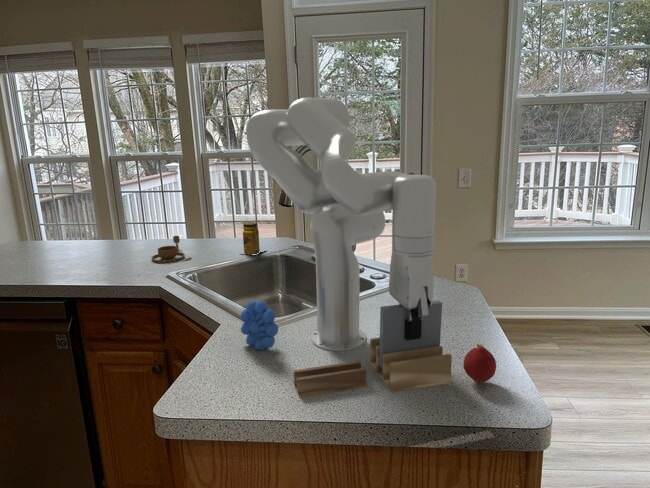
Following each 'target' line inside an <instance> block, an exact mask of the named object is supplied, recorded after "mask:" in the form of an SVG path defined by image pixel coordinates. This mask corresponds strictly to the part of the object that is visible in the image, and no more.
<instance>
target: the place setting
mask: <svg viewBox="0 0 650 488" xmlns="http://www.w3.org/2000/svg"><path fill="white" fill-rule="evenodd" d="M172 241H173V243H174V244H175V245H165V246H160V247H158V248H157V254H154V255H152V256H151V262H153V263H157V264H170V263H176V262H179V261H180V262H179V263H181V264H182V263H183V262H185V261H187V262H188V261H189V260H191V259H192V256H190V257H186V255H185V253H183V252H181V251H178V250H179V243H180V235H173V236H172ZM177 256H178V257H177ZM179 256H180V257H179ZM176 257H177V258H176ZM185 257H186V258H185ZM157 258H160V259H162V260H160V259H157Z"/></svg>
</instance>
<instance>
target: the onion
mask: <svg viewBox="0 0 650 488" xmlns="http://www.w3.org/2000/svg"><path fill="white" fill-rule="evenodd" d="M462 364H463V370H464V372H465V373H466V375H467V376H468V377H469V378H470V379H471V380H473V382H475V383H476V384H482V383H485V382H488V381H489V380H491V379H492V378H493V377H494V376H495V374H496V371H497V362H496V359H495V356H494V355H493V354H492V353H491V351H489V350H488V349H487V348H486V347H484V346H483V344H481V343H477V344H476V347H474V348H472V349H470V350H469V351H468V352H467V353H466V354H465V356H464V359H463V363H462Z"/></svg>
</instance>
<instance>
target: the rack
mask: <svg viewBox="0 0 650 488" xmlns="http://www.w3.org/2000/svg"><path fill="white" fill-rule="evenodd" d="M443 349H444V347H443V346H442V345H440V346H436V347H429V348H422V349H415V350H408V351H401V352H395V353H388V354H383V368H381V367H380V366H379V350H380V336H379V337H372V338H370V341H369V360H368V361H369V363H370V364H371V366H372V367H373V368H374V370H375V371H376V372H377V374H378V375H379V377H380V378H381V379H382V380H383V382H384V383H385V385H386V386H387V388H388V389H389V390H390V392H391V393H398V392H405V391H409V390H415V389H422V388H427V387H433V386H438V385H439V386H440V385H445V384H446V385H448V386H449V387H452V385H453V384H452V382H453V381H452V380H451V379H452V376H451V375H452V360H453V356H452V354H450V353H447V354H443Z"/></svg>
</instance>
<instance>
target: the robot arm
mask: <svg viewBox="0 0 650 488" xmlns="http://www.w3.org/2000/svg"><path fill="white" fill-rule="evenodd" d="M350 123H351V115H350V112H349V109H348V108H347V106H346V105H345V104H344V103H343V102H342V101H341V100H339V99H336V98H333V97H332V98H330V97H329V98H328V97H301V98H299V99H296V100H295V101H293V102H292V103H291V104H290V106H289V107H288V109H266V110H261V111H257V112H256V113H254V114H253V115H251V117H250V118H249V119H248V121H247V122H246V129H245V132H246V134H245V135H246V141H247V145H248V148H249V150H250V153H251V154H252V156H253V158H254V159H255V161H256V162H257V163H258V165H259V166H260V167H261V168H262V169H264V170H265V171H266V172H267V173H268V174H269V175H270V176H271V177H272V178H273V179H274V181H275V182H276V183H277V185H279V187H280V189H282V191H283V192H284V193H285V195H286V197H288V198H289V200H290V201H291V202H292V204H294V206H295V207H296V208H297V209H298V210H299V211H300V212H302V213H304V214H307V215H312V216H311V218H310V226H309V227H310V234H311V238H312V242H313V243H312V245H313V249H314V257H315V258H314V259H315V275H316V277H315V279H316V282H315V284H316V320H317V321H316V323H317V324H316V325H317V327H316V330H314V331H313V332H312V333H311V335H310V341H311V343H312V344H313V345H314V346H315V347H317V348H319V349H322V350H324V351H332V352H347V351H351V350H355V349H358V348H360V347H362V346H364V345H365V344H366V342H367V335H366V334H365V332H364V331H363V330H362V329H361V328H360V290H361V289H360V286H361V285H360V282H361V281H360V264H359V260H358V258H357V256H356V254H355V252H354V251H353V246H354V245H357V244H362V243H365V242H369V241H372V240H375V239H377V238H378V237H380V236H381V235H382V234H383V232H384V230H385V228H386V216H385V212H388V211H389V212H390V211H391V212H392V217H391V219H392V221H391V222H392V223H391V226H392V229H391V256H390V264H389V279H388V292H389V293H388V294H389V295H390V296H391V297H392V298H393V299H394V300H396V302H398V305H402V306H404V307H405V308H406V309H407V320H405V339H406V340H414V339H420V338H421V327H422V320H423V317H428V315H429V314H428V307H431V305H432V302H433V301H434V264H433V263H434V262H433V254H434V250H435V227H436V226H435V225H436V202H437V201H436V200H437V199H436V197H437V195H436V194H437V183H436V180H435V178H434V177H433V176H430V175H426V174H409V173H404V172H401V171H394V170H386V171H384V170H383V171H374V172H365V173H359V172H357V171H356V169H354V168H353V167H352V166H351V165H350V164H349V163H348V162H347V160H348V159H349V158H350V156H351V155H352V154H353V151H354V149H355V146H356V138H355V134H354V133H353V132H352V131H351V129H349V126H350ZM294 146H295V147H296V146H306V147H307V148H308V149H310V151H311V152H312V153H313V154H314V155H315V156H316V157H317V158H318V159H319V160H320V169H315V168H314V167H313V166H312V165H311V164H310V163H309V162H308V161H307V159H306V158H305V157H304V156H302V155H301V153H298V152H297V151H296V150H294V149H292V148H290V147H294ZM413 309H418V310H414V311H413Z"/></svg>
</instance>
